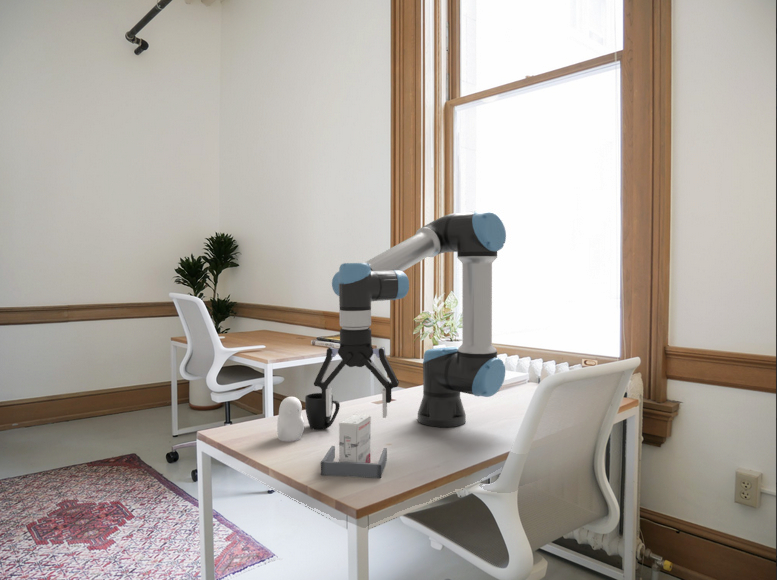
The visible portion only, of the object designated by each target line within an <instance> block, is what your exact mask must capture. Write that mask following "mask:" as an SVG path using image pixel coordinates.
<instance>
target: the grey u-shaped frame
mask: <svg viewBox="0 0 777 580" xmlns="http://www.w3.org/2000/svg"><path fill="white" fill-rule="evenodd" d="M335 458H336V446H335V445H331V446H330V448H329V449H328V451H327V452H326V453H325V455H324V457H323V458H322V460H321V461H320V475H321V476H329V477H330V476H332V477H354V478H355V477H357V478H373V479H376V478H377V479H381V478H382V475H383V474H384V470H385V467H386V464H387V461H388V448H387V447H384V448H383V449H382V452H381V454H380V457H379V460H378V462H377V463H376V462H375V463H374V462H373V463H371V462H370V463H355V462H339V461H334V460H335Z"/></svg>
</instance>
